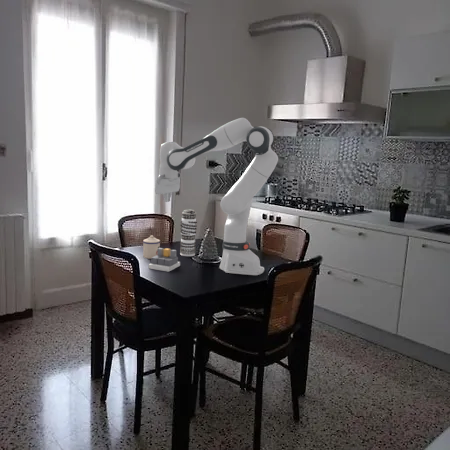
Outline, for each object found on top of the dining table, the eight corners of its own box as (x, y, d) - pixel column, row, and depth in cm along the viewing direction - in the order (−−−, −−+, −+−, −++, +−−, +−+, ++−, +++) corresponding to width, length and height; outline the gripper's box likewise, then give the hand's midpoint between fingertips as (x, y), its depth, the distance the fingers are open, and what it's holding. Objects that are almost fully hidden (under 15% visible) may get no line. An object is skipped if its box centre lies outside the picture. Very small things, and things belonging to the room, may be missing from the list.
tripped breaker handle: (170, 255, 220) (170, 248, 220) (167, 256, 218) (168, 249, 217) (165, 255, 221) (166, 248, 220) (163, 256, 219) (163, 249, 218)
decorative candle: (197, 252, 250) (198, 209, 245) (194, 256, 240) (196, 211, 236) (181, 251, 250) (182, 208, 246) (178, 255, 241) (179, 210, 237)
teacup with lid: (159, 259, 232) (160, 237, 230) (142, 259, 231) (142, 237, 229) (159, 253, 244) (160, 233, 242) (143, 253, 243) (143, 232, 241)
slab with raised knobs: (179, 265, 222) (180, 249, 220) (168, 271, 211) (169, 254, 209) (160, 262, 226) (160, 246, 224) (148, 268, 215) (148, 251, 213)
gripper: (163, 175, 211) (163, 204, 214) (182, 173, 230) (181, 200, 233) (152, 174, 214) (151, 203, 216) (171, 173, 232) (171, 199, 235)
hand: (167, 201), depth 225 cm, fingers closed
